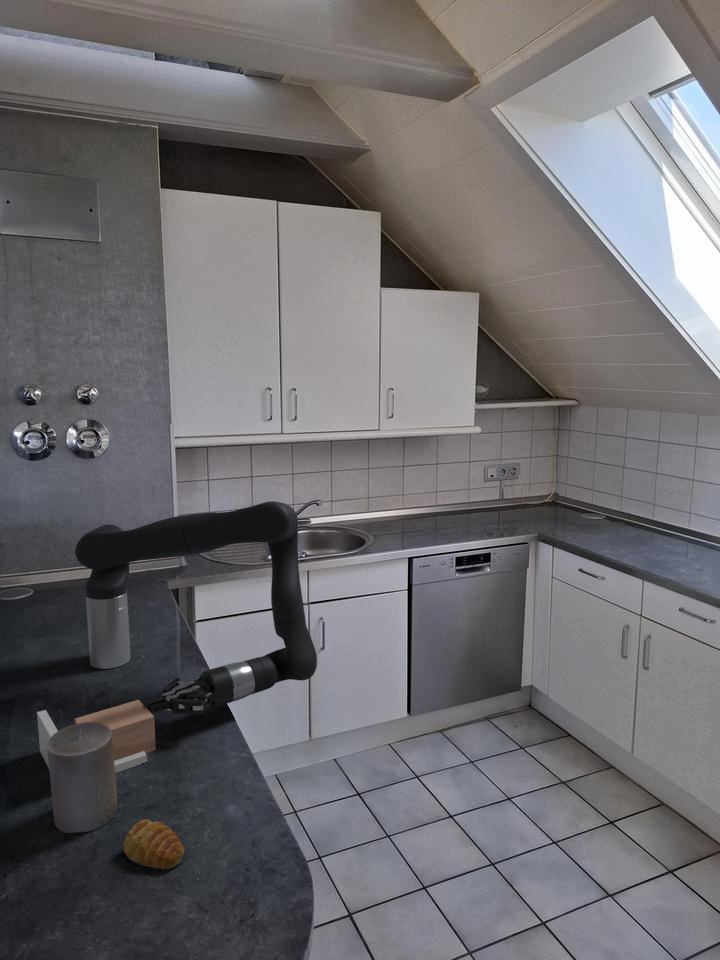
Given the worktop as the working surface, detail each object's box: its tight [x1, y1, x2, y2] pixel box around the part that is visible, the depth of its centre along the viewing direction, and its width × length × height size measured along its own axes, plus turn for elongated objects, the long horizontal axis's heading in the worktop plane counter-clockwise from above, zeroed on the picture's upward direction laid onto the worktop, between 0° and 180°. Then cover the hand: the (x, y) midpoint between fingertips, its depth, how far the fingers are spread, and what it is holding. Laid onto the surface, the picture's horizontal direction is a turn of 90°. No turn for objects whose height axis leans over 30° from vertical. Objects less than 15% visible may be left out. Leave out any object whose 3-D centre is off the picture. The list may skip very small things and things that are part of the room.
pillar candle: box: [47, 722, 119, 834], centre depth 112 cm, size 10×10×15 cm
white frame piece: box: [36, 709, 148, 774], centre depth 128 cm, size 15×15×8 cm
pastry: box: [122, 819, 185, 870], centre depth 104 cm, size 9×7×4 cm
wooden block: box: [74, 699, 157, 761], centre depth 130 cm, size 8×12×7 cm, turn 128°
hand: (145, 708), depth 134 cm, fingers closed
